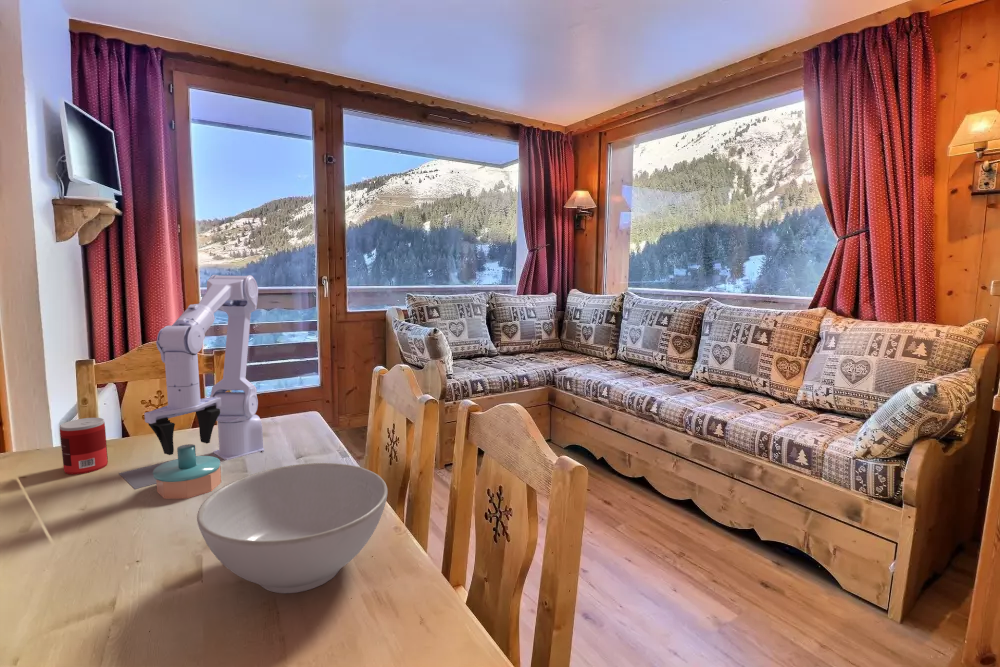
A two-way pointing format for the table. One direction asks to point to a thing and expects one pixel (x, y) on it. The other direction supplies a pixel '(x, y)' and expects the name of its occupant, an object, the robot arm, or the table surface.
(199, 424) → the robot arm
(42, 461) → the table surface
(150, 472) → the mat
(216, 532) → the decorative bowl
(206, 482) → the ramekin
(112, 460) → the table surface
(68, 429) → the canned food
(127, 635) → the table surface
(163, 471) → the lid
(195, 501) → the table surface
